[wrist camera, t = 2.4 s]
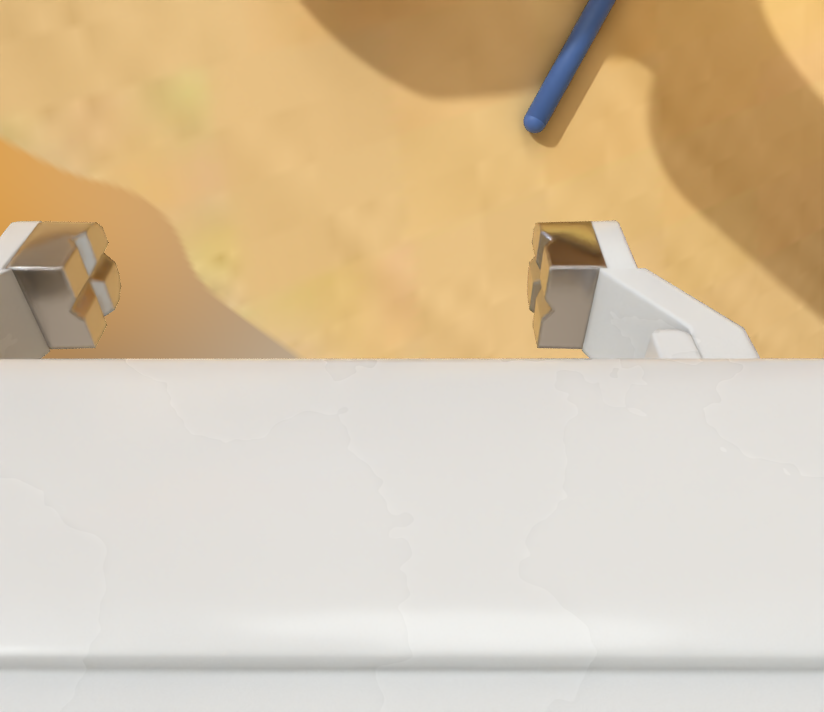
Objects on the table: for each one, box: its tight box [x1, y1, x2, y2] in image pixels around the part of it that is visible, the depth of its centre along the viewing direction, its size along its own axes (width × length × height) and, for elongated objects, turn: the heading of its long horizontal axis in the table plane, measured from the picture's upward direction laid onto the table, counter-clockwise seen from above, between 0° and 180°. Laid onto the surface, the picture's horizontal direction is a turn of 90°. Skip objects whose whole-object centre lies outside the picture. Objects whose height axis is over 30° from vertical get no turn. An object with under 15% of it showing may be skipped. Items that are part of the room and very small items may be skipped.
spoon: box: [524, 0, 616, 133], centre depth 42 cm, size 16×4×1 cm, turn 150°
